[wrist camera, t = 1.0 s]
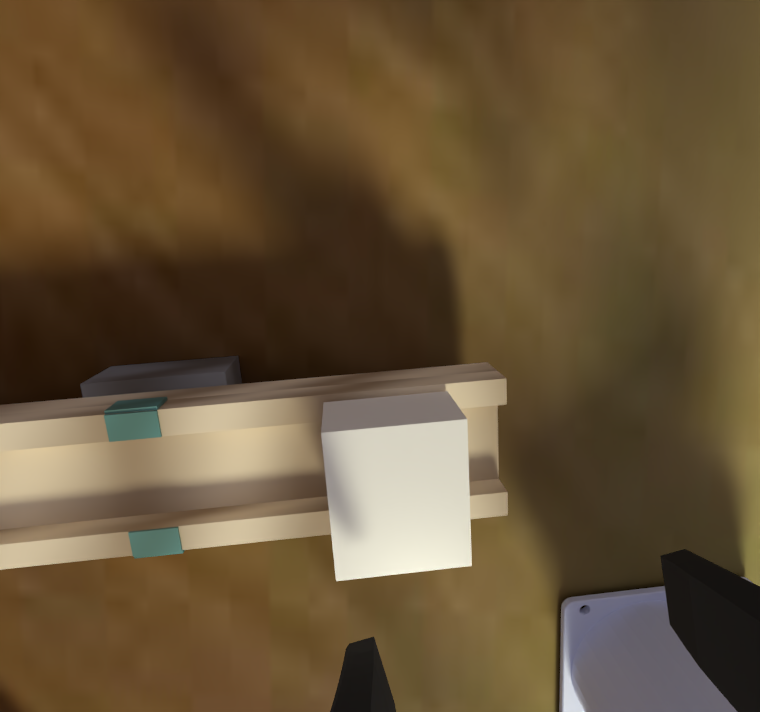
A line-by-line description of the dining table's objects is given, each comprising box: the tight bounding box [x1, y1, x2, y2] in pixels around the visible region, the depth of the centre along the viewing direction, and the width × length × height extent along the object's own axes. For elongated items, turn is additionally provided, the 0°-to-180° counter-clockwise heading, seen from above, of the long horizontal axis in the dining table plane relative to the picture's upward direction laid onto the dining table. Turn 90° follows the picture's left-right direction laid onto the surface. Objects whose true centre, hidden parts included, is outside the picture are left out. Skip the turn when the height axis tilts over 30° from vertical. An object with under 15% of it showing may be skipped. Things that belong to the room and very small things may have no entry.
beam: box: [0, 356, 508, 570], centre depth 18 cm, size 24×6×7 cm, turn 94°
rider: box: [321, 391, 472, 581], centre depth 16 cm, size 4×5×4 cm
